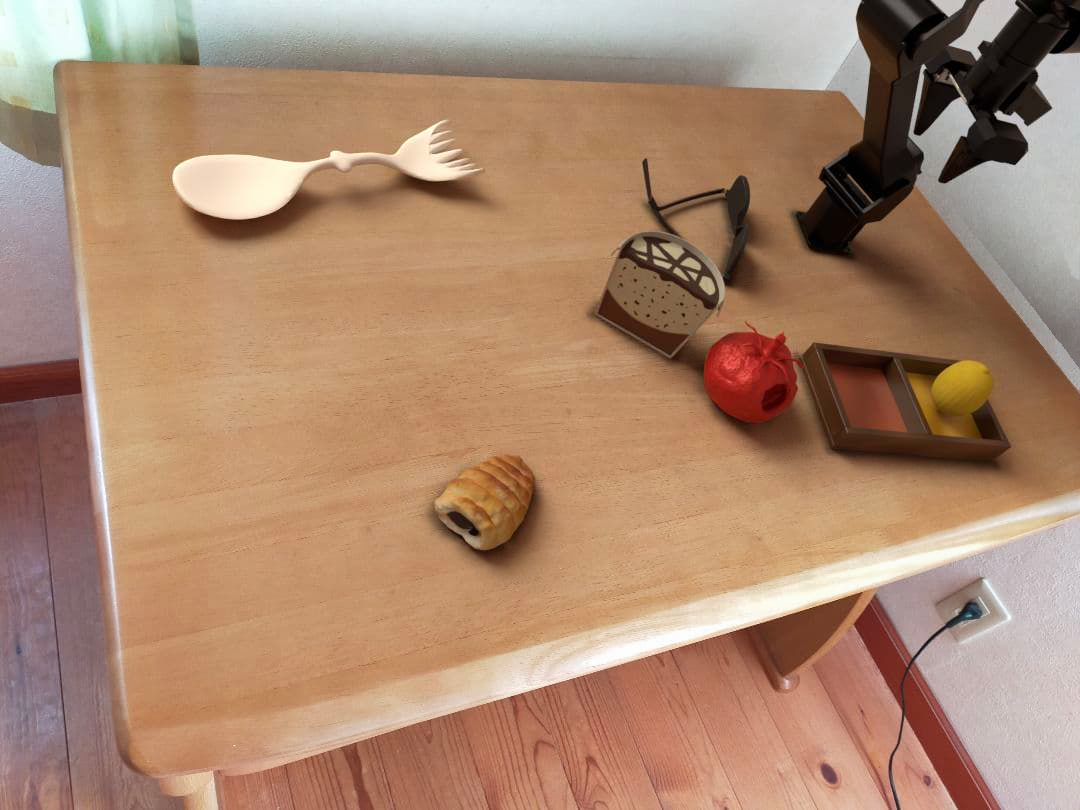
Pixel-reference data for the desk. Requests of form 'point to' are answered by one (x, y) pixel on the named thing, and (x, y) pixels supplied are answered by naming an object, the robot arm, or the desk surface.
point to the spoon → (303, 174)
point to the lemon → (962, 388)
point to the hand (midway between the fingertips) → (928, 157)
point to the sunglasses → (736, 208)
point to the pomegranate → (751, 375)
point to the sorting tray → (893, 405)
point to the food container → (661, 290)
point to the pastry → (487, 501)
